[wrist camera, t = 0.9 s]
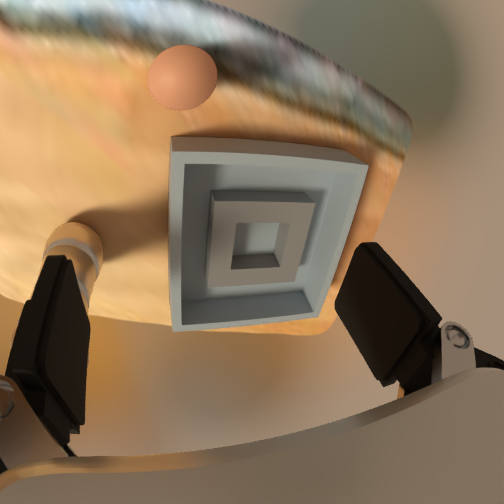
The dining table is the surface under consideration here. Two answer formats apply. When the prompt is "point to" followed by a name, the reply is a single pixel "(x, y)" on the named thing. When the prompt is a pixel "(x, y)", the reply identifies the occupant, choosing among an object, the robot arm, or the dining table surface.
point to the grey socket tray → (255, 229)
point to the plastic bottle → (76, 256)
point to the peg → (182, 77)
